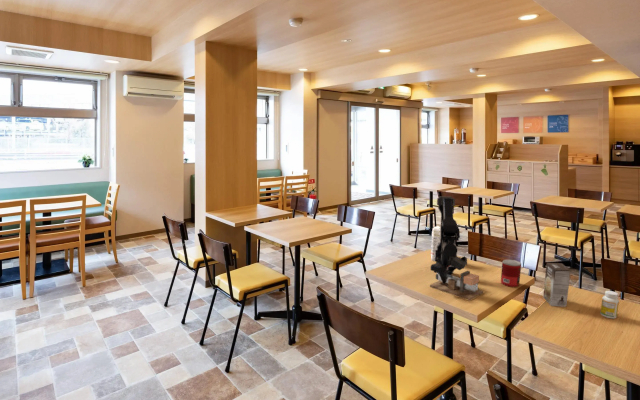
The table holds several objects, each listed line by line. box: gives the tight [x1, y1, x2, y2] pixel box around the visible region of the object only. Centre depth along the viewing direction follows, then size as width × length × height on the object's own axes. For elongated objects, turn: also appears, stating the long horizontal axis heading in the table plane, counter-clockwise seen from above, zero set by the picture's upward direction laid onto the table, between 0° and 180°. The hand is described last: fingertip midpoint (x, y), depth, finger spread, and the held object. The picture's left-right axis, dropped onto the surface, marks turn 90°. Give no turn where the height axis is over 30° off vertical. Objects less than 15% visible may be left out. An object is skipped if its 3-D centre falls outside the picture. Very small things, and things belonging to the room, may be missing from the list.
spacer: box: [463, 272, 480, 285], centre depth 173 cm, size 4×6×3 cm, turn 131°
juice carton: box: [430, 225, 441, 262], centre depth 220 cm, size 8×9×19 cm
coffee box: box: [542, 262, 572, 307], centre depth 165 cm, size 9×6×16 cm
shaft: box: [435, 272, 479, 291], centre depth 179 cm, size 19×4×4 cm, turn 41°
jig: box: [429, 270, 484, 301], centre depth 179 cm, size 20×12×10 cm, turn 41°
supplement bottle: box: [600, 290, 620, 319], centre depth 153 cm, size 5×5×10 cm
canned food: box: [500, 259, 522, 288], centre depth 186 cm, size 8×8×11 cm
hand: (446, 282), depth 183 cm, fingers closed on shaft, 3 cm apart
